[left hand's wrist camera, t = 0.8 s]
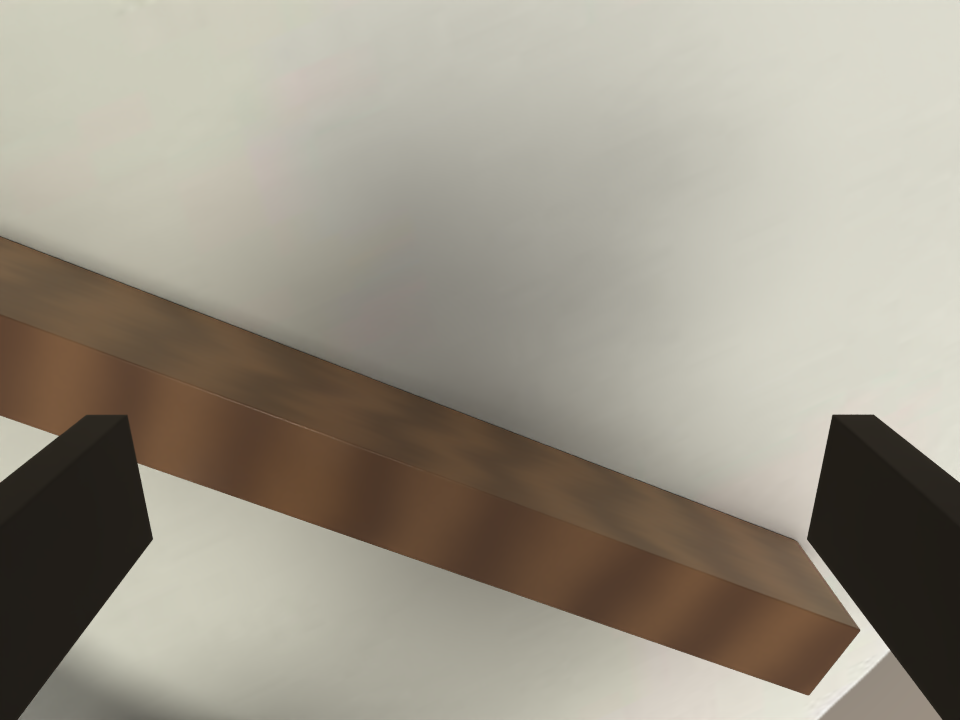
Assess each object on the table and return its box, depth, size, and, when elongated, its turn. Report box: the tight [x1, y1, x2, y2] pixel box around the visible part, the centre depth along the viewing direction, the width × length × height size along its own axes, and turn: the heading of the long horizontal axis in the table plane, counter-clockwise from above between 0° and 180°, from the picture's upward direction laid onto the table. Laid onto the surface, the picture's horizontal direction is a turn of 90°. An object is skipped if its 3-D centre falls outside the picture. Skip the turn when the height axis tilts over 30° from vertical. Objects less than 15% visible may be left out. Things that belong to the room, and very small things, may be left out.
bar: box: [0, 237, 860, 695], centre depth 35 cm, size 64×5×8 cm, turn 67°
